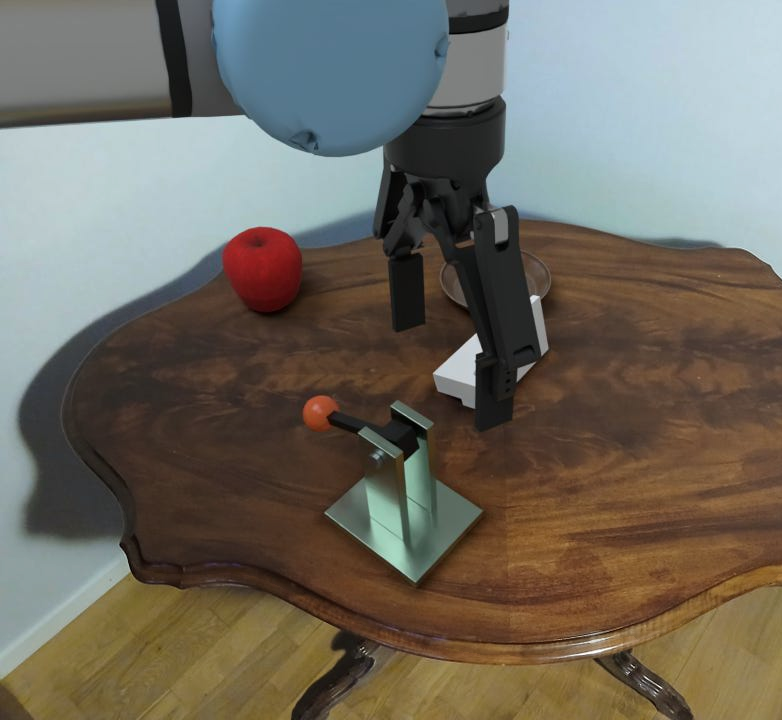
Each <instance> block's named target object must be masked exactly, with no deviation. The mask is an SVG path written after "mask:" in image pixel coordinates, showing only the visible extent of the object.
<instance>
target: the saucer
mask: <svg viewBox="0 0 782 720" xmlns="http://www.w3.org/2000/svg"><path fill="white" fill-rule="evenodd" d="M520 251H521V256H522V261H523V266H524V271H525V276H526V280H527V285H528V290H529V295H530V297H531V296H532V295H535V296H540V301H541V300H542V299H544V297H545V296H546V295H547V294H548V293H549V291H550V288H551V286H552V276H551V272H550V269H549V268H548V266H547V265H546V264H545V263H544V262H543V261H542V260H541V259H540V258H539V257H537V256H536V255H534V254H533V253H530V252H528V251H527V250H524V249H521V248H520ZM439 284H440V286H441V288H442V290H443V291H444V293H445V295H447V296H448V298H450V299H451V300H452V301H453V302H454V303H456V304H457V305H458V306H460V307H462V308H463V309H465V310H466V311H469V309H468V306H467V303H466V300H465V297H464V294H463V291H462V288H461V285H460V282H459V279H458V276H457V273H456V270H455V268H454V267H453V266H452V265H449V264H447V263H446V262H444V263H443V265H442V267H441V268H440V272H439Z"/></svg>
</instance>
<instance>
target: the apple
mask: <svg viewBox="0 0 782 720" xmlns="http://www.w3.org/2000/svg"><path fill="white" fill-rule="evenodd" d="M221 255H222V259H221V260H222V261H221V262H222V263H221V264H222V268H223V272H224V274H225V276H226V278H227V281H229V285H230V286H231V287H232V289H233V291H234V292H235V294H236V295H237V297H238V298H239V299H240V301H241V302H242V303H243V304H244V305H245V306H246V307H248V308H249V310H253V311H256V312H259V313H273V312H276V311H279V310H282V309H283V308H284V307H286V306H288V305H289V304H291V303H292V302H293V301H294V300H295V299H296V298H297V294H298V292H299V288H300V285H301V281H302V278H303V255H302V251H301V249H300V247H299V245H298V244H297V242H296V239H294V238H293V237H292V236H291V235H290V234H289V233H287V232H285V231H284V230H281V229H278V228H274V227H271V226H256V227H251V228H248V229H245V230H243V231H241V232H239V233H238V234H237V235H234V237H232V238H231V239H230V241H228V243H226V245H225V247H224V249H223V250H222V254H221Z"/></svg>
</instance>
